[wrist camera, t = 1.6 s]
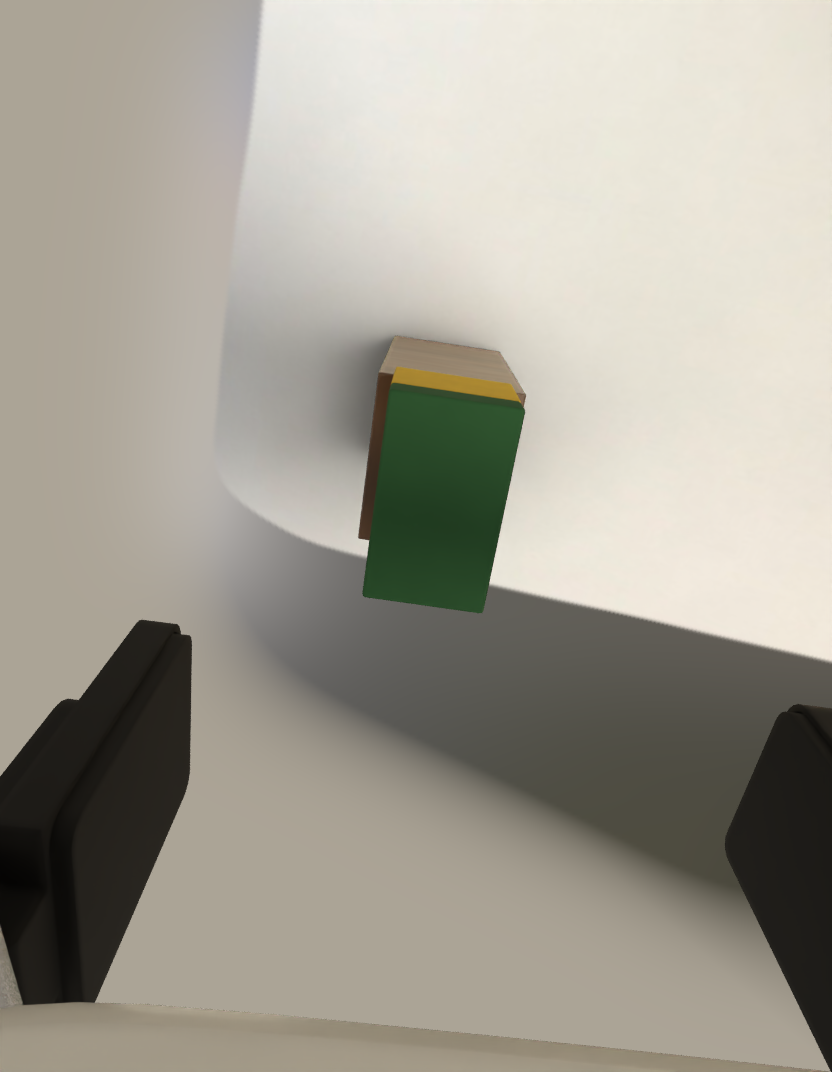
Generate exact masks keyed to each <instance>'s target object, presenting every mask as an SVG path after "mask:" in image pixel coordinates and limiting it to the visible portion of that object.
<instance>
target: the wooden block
mask: <svg viewBox="0 0 832 1072" xmlns="http://www.w3.org/2000/svg"><path fill="white" fill-rule="evenodd" d="M396 367H404V368H410V369H417V370H423V371H430V372H436V373H443V374H450V375H456V376H463V377H469V378H476V379H482V380H489V381H495V382H502V383H509V384H511V385H512V386H513V388H514V390H515V392H516V394H517V396H518V397H519V399H520V401H521V404H522V406H523V408H524V403H525V398H526V394H525V393H524V391H523V389H522V388H521V386H520V384H519V383H518V381H517V379H516V378H515V376H514V375H513V373H512V371H511V370H510V368H509V366H508V365H507V363H506V361H505V360H504V358H503V356H502V355H501V353H500V352H498V351H492V350H485V349H479V348H472V347H466V346H459V345H453V344H446V343H440V342H433V341H427V340H420V339H414V338H407V337H401V336H394V338H393V341H392V343H391V345H390V348H389V350H388V352H387V355H386V357H385V359H384V362H383V364H382V366H381V368H380V371H379V373H378V380H377V388H376V397H375V405H374V413H373V421H372V429H371V437H370V445H369V453H368V462H367V470H366V478H365V486H364V494H363V502H362V510H361V519H360V527H359V535H358V538H359V539H365V540H370V532H371V524H372V516H373V509H374V501H375V493H376V486H377V478H378V470H379V463H380V455H381V447H382V440H383V432H384V424H385V417H386V409H387V401H388V394H389V389H390V386H391V382H392V379H393V376H394V372H395V369H396Z"/></svg>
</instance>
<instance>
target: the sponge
mask: <svg viewBox="0 0 832 1072" xmlns="http://www.w3.org/2000/svg"><path fill="white" fill-rule="evenodd" d="M524 415H525V410H524V408H523V406H522V404H521V401H520V399H519V397H518V396H517V394H516V392H515V390H514V388H513V386H512V385H511V384H509V383H502V382H495V381H489V380H482V379H476V378H469V377H463V376H456V375H450V374H443V373H436V372H430V371H423V370H417V369H410V368H404V367H396V369H395V372H394V376H393V379H392V382H391V386H390V389H389V394H388V401H387V409H386V417H385V424H384V432H383V440H382V447H381V455H380V463H379V470H378V478H377V486H376V493H375V501H374V509H373V516H372V524H371V532H370V540H369V547H368V555H367V563H366V571H365V578H364V586H363V596H364V597H368V598H375V599H383V600H390V601H397V602H404V603H411V604H418V605H425V606H432V607H439V608H446V609H454V610H461V611H468V612H476V613H482V612H483V610H484V605H485V600H486V595H487V591H488V586H489V581H490V576H491V572H492V567H493V562H494V557H495V553H496V548H497V543H498V538H499V534H500V529H501V524H502V519H503V515H504V510H505V505H506V500H507V495H508V491H509V486H510V481H511V476H512V472H513V467H514V462H515V457H516V453H517V448H518V443H519V438H520V434H521V429H522V424H523V419H524Z"/></svg>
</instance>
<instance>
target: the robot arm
mask: <svg viewBox="0 0 832 1072" xmlns="http://www.w3.org/2000/svg"><path fill="white" fill-rule="evenodd" d="M191 664H192V641H191V637H190V636H189V635H181V631H180V628H179V626H178V625H177V624H171V623H163V622H155V621H147V620H139V622H137V623H136V625H135V626H134V627H133V629H132V630H131V631H130V633H129V634H128V635H127V636H126V638H125V639H124V641H123V642H122V643H121V645H120V646H119V647H118V649H117V650H116V651H115V652H114V654H113V655H112V657H111V658H110V659H109V661H108V662H107V663H106V665H105V666H104V667H103V669H102V670H101V671H100V673H99V674H98V675H97V677H96V678H95V679H94V681H93V682H92V683H91V685H90V686H89V687H88V689H87V690H86V691H85V693H84V694H83V695H82V697H81V698H80V699H79V700H73V699H66V700H63V701H61V702H60V703H59V704H58V705H57V706H56V707H55V708H54V709H53V710H52V712H51V713H50V714H49V715H48V717H47V718H46V719H45V721H44V722H43V723H42V724H41V726H40V727H39V728H38V729H37V731H36V732H35V733H34V734H33V736H32V737H31V738H30V739H29V741H28V742H27V743H26V745H25V746H24V747H23V748H22V750H21V751H20V752H19V754H18V755H17V756H16V757H15V759H14V760H13V761H12V762H11V764H10V765H9V766H8V767H7V769H6V770H5V771H4V772H3V774H2V775H1V776H0V1072H828V1071H819V1070H810V1069H801V1068H792V1067H783V1066H774V1065H765V1064H756V1063H747V1062H738V1061H728V1060H719V1059H710V1058H701V1057H690V1056H682V1055H672V1054H662V1053H652V1052H643V1051H634V1050H625V1049H615V1048H605V1047H595V1046H586V1045H576V1044H567V1043H557V1042H548V1041H538V1040H528V1039H519V1038H509V1037H499V1036H489V1035H479V1034H470V1033H459V1032H448V1031H439V1030H429V1029H418V1028H408V1027H398V1026H388V1025H378V1024H367V1023H358V1022H347V1021H336V1020H327V1019H317V1018H307V1017H296V1016H286V1015H275V1014H262V1013H250V1012H237V1011H225V1010H212V1009H199V1008H187V1007H175V1006H174V1007H173V1006H162V1005H150V1004H120V1003H95V1001H96V998H97V996H98V994H99V992H100V989H101V987H102V985H103V982H104V980H105V978H106V975H107V973H108V971H109V968H110V966H111V964H112V962H113V959H114V957H115V955H116V952H117V950H118V948H119V945H120V943H121V941H122V938H123V936H124V934H125V931H126V929H127V927H128V925H129V922H130V920H131V918H132V915H133V913H134V911H135V908H136V906H137V904H138V901H139V899H140V897H141V894H142V892H143V890H144V888H145V885H146V883H147V880H148V878H149V876H150V874H151V871H152V869H153V867H154V864H155V862H156V860H157V857H158V855H159V853H160V850H161V848H162V846H163V844H164V841H165V839H166V837H167V834H168V832H169V830H170V827H171V825H172V823H173V820H174V818H175V816H176V813H177V811H178V809H179V807H180V804H181V801H182V800H183V797H184V795H185V792H186V789H187V785H188V780H189V774H190V728H191V726H190V725H191ZM725 850H726V855H727V858H728V861H729V863H730V865H731V867H732V869H733V871H734V873H735V875H736V877H737V879H738V881H739V883H740V885H741V887H742V889H743V892H744V894H745V896H746V898H747V900H748V902H749V904H750V906H751V908H752V910H753V912H754V914H755V916H756V918H757V920H758V922H759V925H760V927H761V929H762V931H763V933H764V935H765V937H766V939H767V941H768V943H769V945H770V947H771V949H772V951H773V953H774V955H775V958H776V960H777V962H778V964H779V966H780V968H781V970H782V972H783V974H784V976H785V978H786V980H787V982H788V984H789V986H790V988H791V991H792V992H793V995H794V997H795V999H796V1001H797V1003H798V1005H799V1007H800V1009H801V1011H802V1013H803V1015H804V1017H805V1019H806V1021H807V1024H808V1025H809V1027H810V1030H811V1032H812V1034H813V1036H814V1038H815V1040H816V1042H817V1044H818V1046H819V1048H820V1050H821V1052H822V1054H823V1056H824V1059H825V1060H826V1063H827V1065H828V1067H829V1069H830V1071H831V1072H832V709H831V708H824V707H817V706H809V705H801V704H797V705H793V706H792V707H791V708H790V709H789V710H788V711H787V712H782V713H781V714H780V715H779V716H778V717H777V719H776V721H775V723H774V726H773V728H772V730H771V733H770V735H769V737H768V740H767V742H766V744H765V746H764V749H763V751H762V754H761V756H760V758H759V760H758V763H757V765H756V767H755V770H754V772H753V774H752V777H751V779H750V781H749V783H748V786H747V788H746V790H745V793H744V795H743V797H742V800H741V802H740V804H739V807H738V809H737V811H736V813H735V816H734V818H733V820H732V823H731V825H730V827H729V830H728V832H727V835H726V839H725Z"/></svg>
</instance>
